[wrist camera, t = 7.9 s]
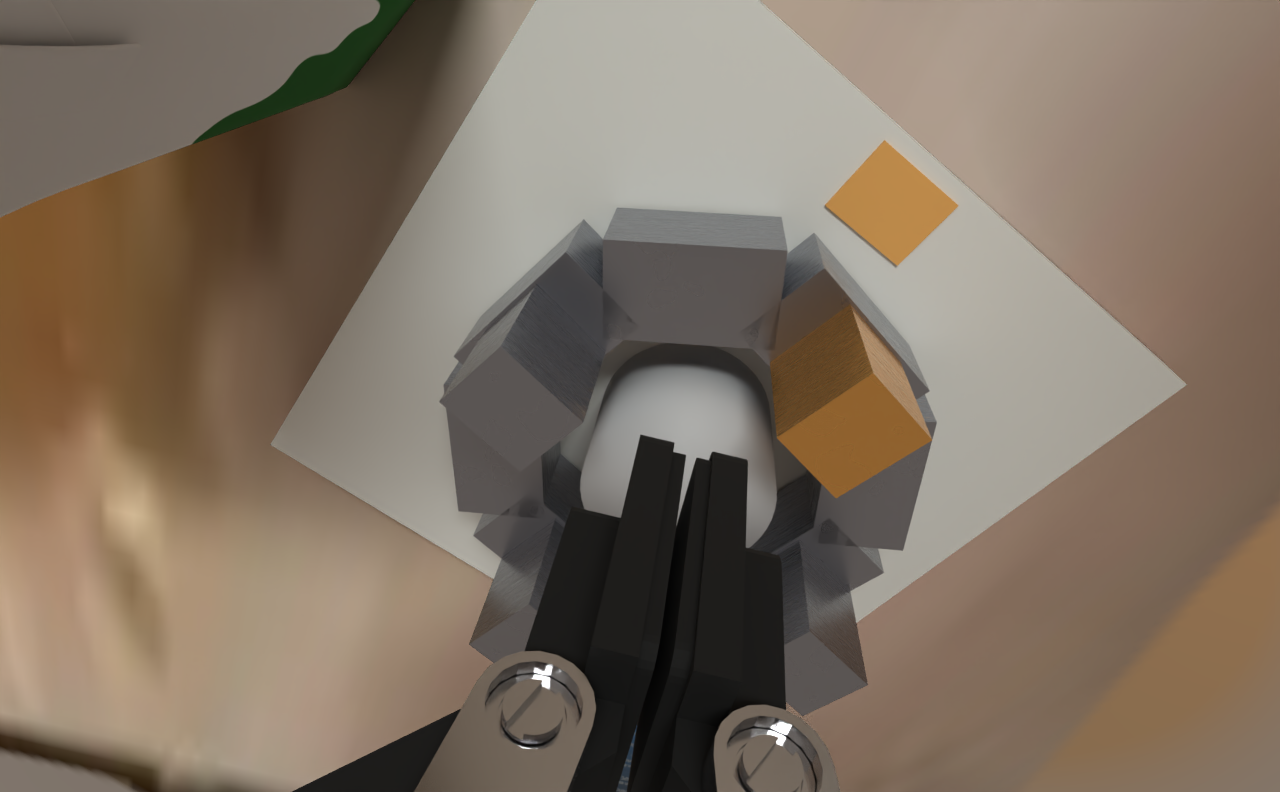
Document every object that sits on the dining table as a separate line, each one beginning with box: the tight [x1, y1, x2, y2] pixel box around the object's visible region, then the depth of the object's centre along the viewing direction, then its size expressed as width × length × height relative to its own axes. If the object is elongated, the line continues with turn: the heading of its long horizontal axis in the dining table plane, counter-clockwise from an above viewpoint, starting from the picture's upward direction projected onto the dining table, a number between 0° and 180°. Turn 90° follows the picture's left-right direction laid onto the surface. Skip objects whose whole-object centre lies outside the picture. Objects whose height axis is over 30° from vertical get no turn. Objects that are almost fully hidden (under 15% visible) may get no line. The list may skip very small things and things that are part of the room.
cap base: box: [270, 0, 1187, 623], centre depth 26 cm, size 23×23×6 cm
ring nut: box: [439, 208, 937, 716], centre depth 24 cm, size 15×15×7 cm
